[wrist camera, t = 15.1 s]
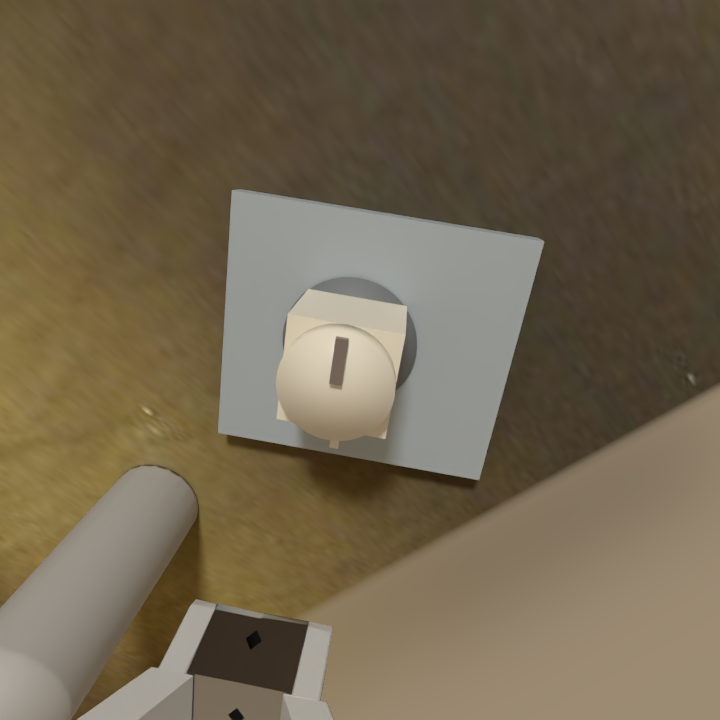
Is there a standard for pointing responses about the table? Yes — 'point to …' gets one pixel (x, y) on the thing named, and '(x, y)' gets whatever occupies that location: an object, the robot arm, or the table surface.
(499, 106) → the table surface
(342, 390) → the knob
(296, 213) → the panel
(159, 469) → the bottle
